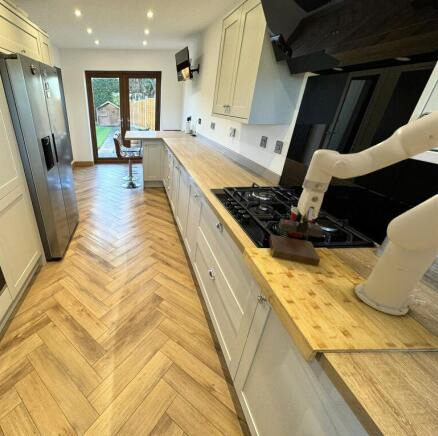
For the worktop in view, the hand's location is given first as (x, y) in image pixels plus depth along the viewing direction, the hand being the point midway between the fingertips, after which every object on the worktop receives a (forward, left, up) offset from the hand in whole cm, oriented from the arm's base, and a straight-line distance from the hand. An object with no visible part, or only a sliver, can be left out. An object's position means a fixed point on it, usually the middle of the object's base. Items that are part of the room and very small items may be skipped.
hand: (299, 228), depth 93 cm
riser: (0, 0, -11) cm, 11 cm away
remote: (0, 0, -1) cm, 1 cm away
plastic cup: (-5, -18, -11) cm, 22 cm away
